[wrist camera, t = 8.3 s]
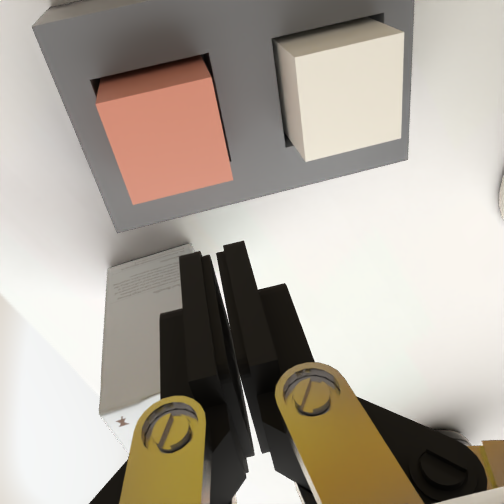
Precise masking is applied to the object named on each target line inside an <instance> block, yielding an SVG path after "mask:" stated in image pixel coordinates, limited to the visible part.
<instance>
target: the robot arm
mask: <svg viewBox="0 0 504 504" xmlns="http://www.w3.org/2000/svg"><path fill="white" fill-rule="evenodd" d="M499 207H500V212H501V216H502V218H503V220H504V175H503V178H502V183H501V187H500V191H499ZM223 247H224V251H223V252H219V253H216V255H217V260H218V266H219V271H220V276H221V282H222V287H223V292H224V297H225V303H226V308H227V313H228V319H229V322H228V319H227V315H226V311H225V308H224V304H223V300H222V297H221V293H220V290H219V286H218V282H217V279H216V275H215V272H214V268H213V264H212V261H211V257H210V255H206V256H202V255H201V252H200V251H198V252H194V253H190V254H186V255H181V256H179V267H180V281H181V295H182V308H181V309H177V310H173V311H169V312H165V313H161V314H160V318H159V333H160V400H159V401H158V402H156V403H154V404H152V405H151V406H150V407H149V408H148V409H147V410H145V411H144V412H143V414H142V415H141V417H140V418H139V420H138V421H137V424H136V426H135V429H134V432H133V437H132V442H131V447H130V452H129V457H128V460H127V461H126V462H125V463H124V465H123V466H122V467H121V468H120V469H119V470H118V471H117V472H116V474H115V475H114V476H113V477H112V478H111V479H110V480H109V482H108V483H107V484H106V485H105V486H104V487H103V488H102V490H101V491H100V492H99V493H98V494H97V495H96V496H95V498H94V499H93V500H92V501H91V502H90V503H89V504H237V500H236V492H237V491H238V489H239V488H240V486H241V485H242V483H243V482H244V480H245V479H246V473H248V472H249V471H248V465H247V459H246V458H247V457H251V456H254V455H255V454H254V448H253V443H252V438H251V432H250V427H249V422H248V416H247V411H246V406H245V401H244V395H243V390H242V385H243V388H244V392H245V395H246V399H247V402H248V406H249V410H250V413H251V417H252V420H253V424H254V427H255V431H256V434H257V438H258V441H259V445H260V448H261V452H262V453H266V452H270V453H271V457H272V460H273V464H274V468H275V471H277V472H279V473H281V474H282V475H284V476H286V477H287V478H289V479H291V480H293V481H294V483H295V487H296V490H297V492H298V495H299V497H300V499H301V502H302V504H504V440H488V441H481V446H466V445H464V444H462V443H461V442H459V441H457V440H456V439H454V438H451V437H449V436H447V435H444V434H442V433H440V432H437V431H435V430H433V429H430V428H428V427H426V426H424V425H421V424H419V423H417V422H414V421H412V420H410V419H407V418H405V417H403V416H400V415H398V414H396V413H394V412H391V411H389V410H387V409H384V408H382V407H380V406H377V405H375V404H373V403H370V402H368V401H366V400H363V399H361V398H359V397H357V396H355V394H354V392H353V391H352V389H351V388H350V386H349V385H348V383H347V381H346V380H345V378H344V377H343V376H342V375H341V374H340V373H339V371H338V370H336V369H334V368H332V367H331V366H329V365H326V364H322V363H318V362H314V359H313V356H312V353H311V351H310V348H309V345H308V343H307V340H306V337H305V334H304V332H303V329H302V326H301V323H300V321H299V318H298V315H297V313H296V310H295V307H294V304H293V302H292V299H291V296H290V294H289V291H288V288H287V286H286V284H285V283H284V284H280V285H276V286H272V287H267V288H263V289H259V290H258V289H257V285H256V282H255V278H254V275H253V271H252V268H251V264H250V261H249V257H248V254H247V250H246V246H245V243H244V241H240V242H236V243H232V244H228V245H223ZM229 324H230V326H229ZM230 329H231V330H230ZM240 378H241V380H240ZM241 381H242V385H241Z"/></svg>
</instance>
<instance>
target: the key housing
mask: <svg viewBox="0 0 504 504" xmlns="http://www.w3.org/2000/svg"><path fill="white" fill-rule="evenodd" d="M362 17H369V18H371V19H374V20H376V21H379V22H381V23H383V24H386V25H388V26H391V27H393V28H396V29H398V30H400V31H403V32H404V58H403V91H402V124H401V138H400V139H396V140H392V141H388V142H384V143H380V144H376V145H372V146H368V147H364V148H360V149H356V150H352V151H348V152H344V153H340V154H336V155H332V156H328V157H324V158H320V159H316V160H312V161H308V162H305V160H304V159H303V158H302V156H301V155H300V153H299V152H298V151H297V149H296V148H295V146H294V145H293V144H292V142H291V141H290V139H289V138H288V137H287V135H286V134H285V132H284V131H283V124H282V117H281V109H280V101H279V93H278V86H277V78H276V70H275V63H274V55H273V47H272V40H271V38H275V37H279V36H284V35H288V34H292V33H297V32H301V31H306V30H310V29H314V28H319V27H323V26H327V25H332V24H336V23H340V22H345V21H349V20H354V19H358V18H362ZM413 21H414V0H81V1H77V2H72V3H68V4H63V5H58V6H54V7H50V8H49V9H48V10H47V11H46V12H45V13H44V14H43V15H42V16H41V17H40V18H39V19H38V20H37V21H36V22H35V23H34V24H33V25H32V29H33V31H34V34H35V36H36V38H37V41H38V43H39V46H40V48H41V50H42V53H43V55H44V58H45V60H46V63H47V65H48V67H49V70H50V72H51V75H52V77H53V79H54V82H55V84H56V87H57V89H58V92H59V94H60V96H61V99H62V101H63V104H64V106H65V108H66V111H67V113H68V116H69V118H70V120H71V123H72V125H73V128H74V130H75V133H76V135H77V137H78V140H79V142H80V145H81V147H82V149H83V152H84V154H85V157H86V159H87V162H88V164H89V166H90V169H91V171H92V174H93V176H94V178H95V181H96V183H97V186H98V188H99V191H100V193H101V195H102V198H103V200H104V203H105V205H106V207H107V210H108V212H109V215H110V217H111V219H112V222H113V224H114V227H115V229H116V232H117V233H120V232H124V231H128V230H132V229H136V228H140V227H144V226H147V225H151V224H155V223H159V222H163V221H167V220H171V219H175V218H179V217H183V216H187V215H191V214H195V213H199V212H203V211H207V210H211V209H215V208H219V207H223V206H227V205H231V204H235V203H239V202H243V201H247V200H250V199H254V198H258V197H262V196H266V195H270V194H274V193H278V192H282V191H286V190H290V189H294V188H298V187H302V186H306V185H310V184H314V183H318V182H322V181H326V180H330V179H334V178H338V177H342V176H346V175H350V174H353V173H357V172H361V171H365V170H369V169H373V168H377V167H381V166H385V165H389V164H393V163H397V162H401V161H405V160H408V143H409V119H410V94H411V70H412V45H413ZM196 55H201V57H202V59H203V61H204V63H205V65H206V67H207V69H208V71H209V73H210V75H211V77H212V82H213V87H214V91H215V96H216V101H217V105H218V110H219V115H220V119H221V124H222V129H223V134H224V138H225V143H226V148H227V152H228V157H229V162H230V167H231V171H232V176H233V180H232V181H228V182H224V183H220V184H216V185H212V186H208V187H204V188H200V189H196V190H192V191H188V192H184V193H179V194H175V195H171V196H167V197H163V198H159V199H155V200H151V201H147V202H143V203H139V204H135V205H133V204H132V201H131V198H130V196H129V193H128V190H127V188H126V185H125V182H124V180H123V177H122V174H121V172H120V169H119V166H118V164H117V161H116V158H115V155H114V153H113V150H112V147H111V145H110V142H109V139H108V137H107V134H106V131H105V129H104V126H103V123H102V121H101V118H100V115H99V113H98V110H97V107H96V104H95V103H96V98H97V94H98V89H99V84H100V79H101V77H105V76H109V75H113V74H118V73H122V72H127V71H131V70H135V69H140V68H144V67H148V66H153V65H157V64H161V63H166V62H170V61H175V60H179V59H183V58H188V57H192V56H196Z"/></svg>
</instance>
